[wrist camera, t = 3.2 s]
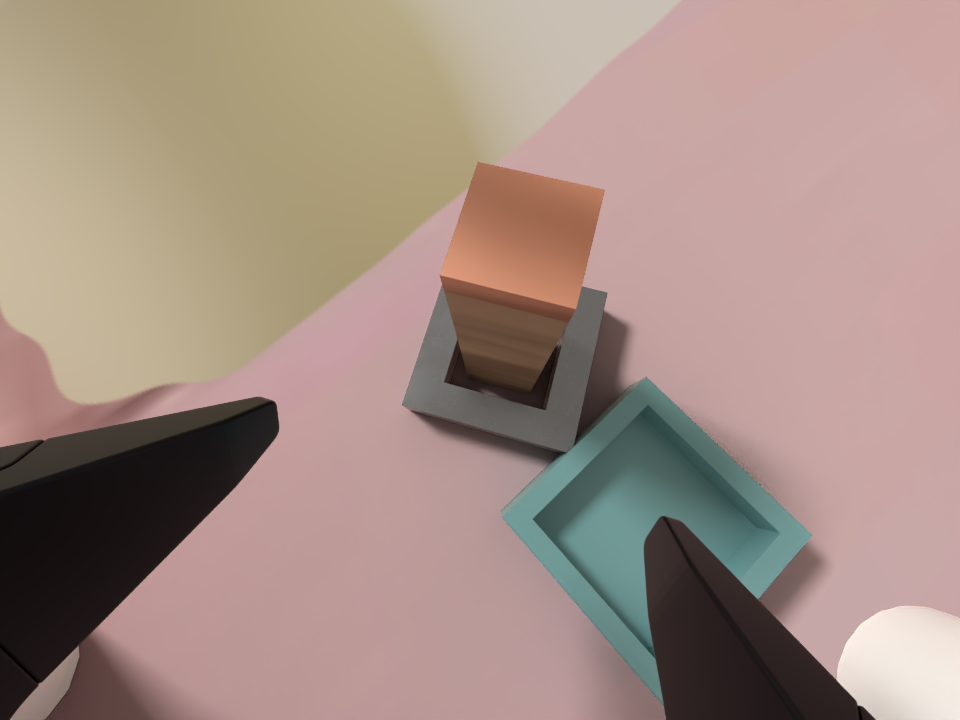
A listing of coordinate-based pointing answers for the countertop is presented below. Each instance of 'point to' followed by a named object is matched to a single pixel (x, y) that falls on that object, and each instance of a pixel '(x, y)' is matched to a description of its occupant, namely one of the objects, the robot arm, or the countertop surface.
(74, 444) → the robot arm
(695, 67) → the countertop surface
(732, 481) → the tray
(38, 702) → the foam cup
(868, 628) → the cylinder with rectangular tab
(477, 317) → the pin
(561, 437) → the grey square flat frame
